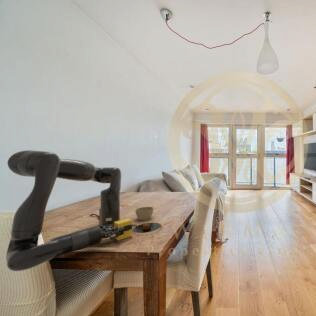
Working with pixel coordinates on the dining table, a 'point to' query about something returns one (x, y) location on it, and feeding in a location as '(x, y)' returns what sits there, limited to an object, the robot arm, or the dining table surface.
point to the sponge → (122, 224)
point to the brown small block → (146, 226)
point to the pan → (139, 229)
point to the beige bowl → (144, 213)
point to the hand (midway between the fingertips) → (129, 225)
